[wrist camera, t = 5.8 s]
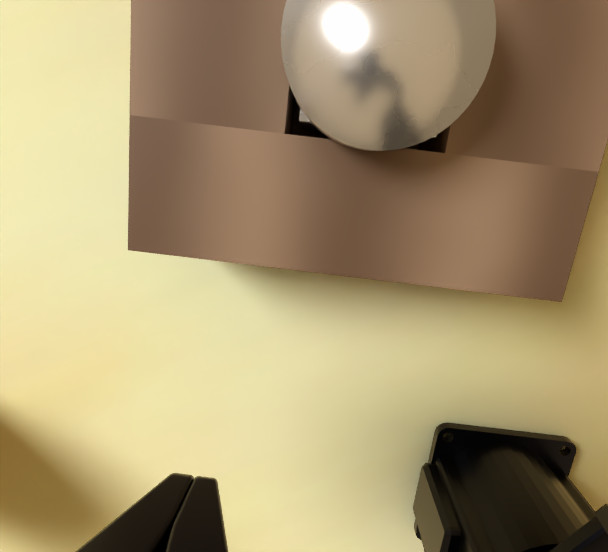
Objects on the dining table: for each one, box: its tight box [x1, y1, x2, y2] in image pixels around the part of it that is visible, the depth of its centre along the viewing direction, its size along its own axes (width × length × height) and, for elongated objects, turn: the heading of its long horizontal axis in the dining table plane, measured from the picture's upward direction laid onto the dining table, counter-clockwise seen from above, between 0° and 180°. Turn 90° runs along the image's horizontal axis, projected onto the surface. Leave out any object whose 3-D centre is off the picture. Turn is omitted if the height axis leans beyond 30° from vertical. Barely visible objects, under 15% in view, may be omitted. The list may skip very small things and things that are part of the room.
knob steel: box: [281, 0, 496, 151], centre depth 13 cm, size 5×5×5 cm
